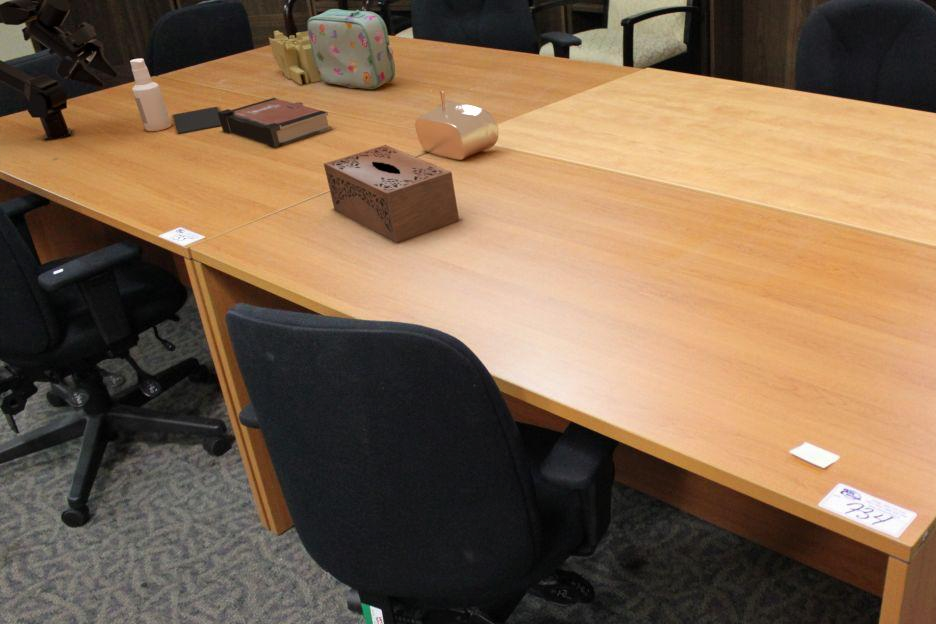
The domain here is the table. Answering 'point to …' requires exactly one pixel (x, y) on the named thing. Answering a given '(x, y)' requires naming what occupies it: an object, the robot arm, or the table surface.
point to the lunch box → (351, 48)
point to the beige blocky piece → (295, 57)
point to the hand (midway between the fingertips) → (110, 80)
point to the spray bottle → (149, 98)
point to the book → (274, 122)
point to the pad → (197, 120)
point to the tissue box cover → (392, 192)
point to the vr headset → (456, 130)
